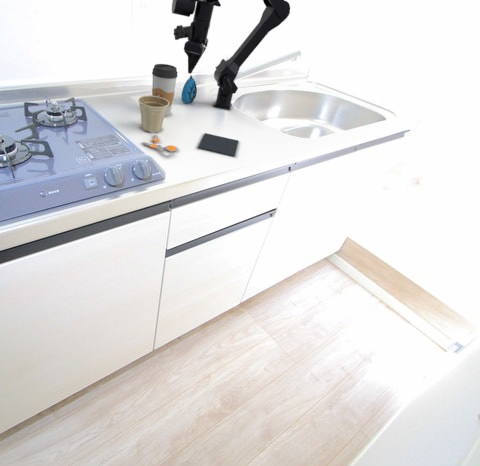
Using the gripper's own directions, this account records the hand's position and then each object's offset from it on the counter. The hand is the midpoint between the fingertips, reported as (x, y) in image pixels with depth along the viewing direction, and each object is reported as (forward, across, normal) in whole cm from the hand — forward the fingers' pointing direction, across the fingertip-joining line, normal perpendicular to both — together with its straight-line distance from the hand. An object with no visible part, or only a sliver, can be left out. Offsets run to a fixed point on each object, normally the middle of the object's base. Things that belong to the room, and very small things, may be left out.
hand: (191, 70), depth 118 cm
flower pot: (+13, +28, -6) cm, 32 cm away
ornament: (+12, -1, +1) cm, 12 cm away
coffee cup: (+13, +14, -6) cm, 20 cm away
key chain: (+13, +40, -1) cm, 42 cm away
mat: (+12, +31, +16) cm, 37 cm away
